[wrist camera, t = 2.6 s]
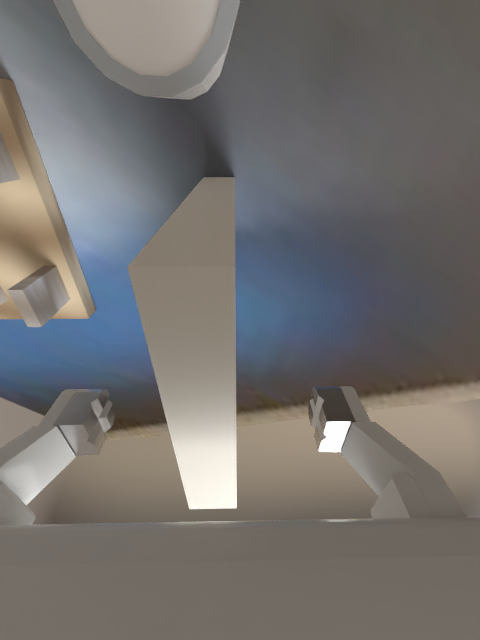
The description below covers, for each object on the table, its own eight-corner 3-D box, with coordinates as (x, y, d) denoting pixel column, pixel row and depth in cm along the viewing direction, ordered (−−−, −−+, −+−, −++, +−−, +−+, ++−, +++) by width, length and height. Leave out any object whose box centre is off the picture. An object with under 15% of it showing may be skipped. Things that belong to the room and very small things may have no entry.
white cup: (261, 63, 15) (277, 15, 9) (170, 137, 17) (137, 136, 11) (189, -115, 12) (145, -356, 6) (85, 3, 14) (-22, -96, 8)
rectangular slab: (189, 177, 19) (78, 267, 5) (234, 177, 19) (235, 266, 5) (202, 317, 25) (167, 509, 12) (235, 317, 25) (236, 508, 12)
